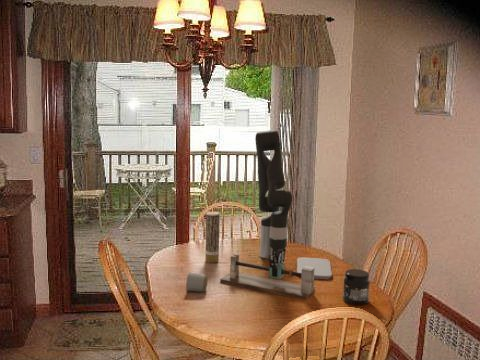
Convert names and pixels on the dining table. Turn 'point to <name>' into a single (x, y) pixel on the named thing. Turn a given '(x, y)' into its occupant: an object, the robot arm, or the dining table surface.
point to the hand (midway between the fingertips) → (276, 274)
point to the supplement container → (356, 287)
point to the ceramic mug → (196, 282)
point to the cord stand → (271, 280)
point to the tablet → (319, 264)
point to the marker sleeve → (278, 271)
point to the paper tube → (212, 236)
